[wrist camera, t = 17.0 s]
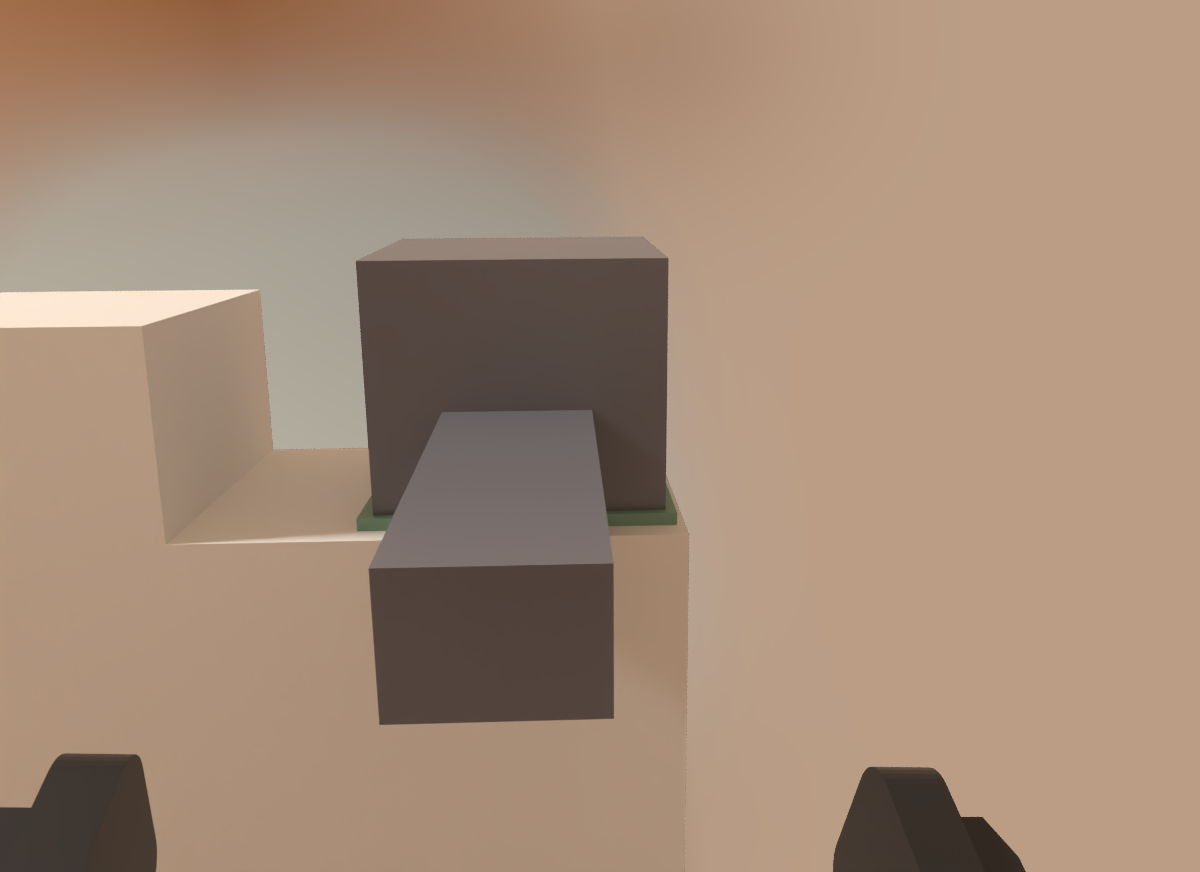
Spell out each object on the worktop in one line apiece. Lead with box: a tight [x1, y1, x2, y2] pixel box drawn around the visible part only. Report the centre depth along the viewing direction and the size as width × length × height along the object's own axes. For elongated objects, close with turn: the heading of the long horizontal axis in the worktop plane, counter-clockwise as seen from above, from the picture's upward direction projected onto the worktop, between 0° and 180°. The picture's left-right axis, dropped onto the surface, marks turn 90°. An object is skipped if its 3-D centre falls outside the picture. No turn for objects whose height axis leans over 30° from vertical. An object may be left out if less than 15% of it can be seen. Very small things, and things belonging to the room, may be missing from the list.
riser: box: [0, 290, 689, 872], centre depth 30 cm, size 20×9×32 cm, turn 92°
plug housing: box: [356, 237, 668, 725], centre depth 22 cm, size 7×16×6 cm, turn 2°
